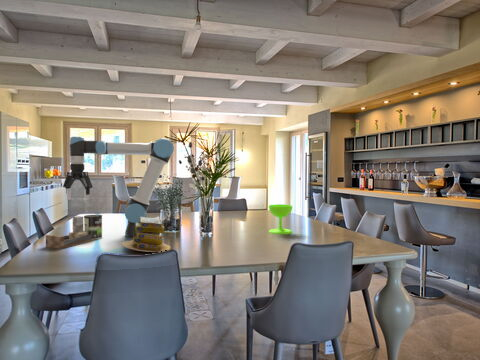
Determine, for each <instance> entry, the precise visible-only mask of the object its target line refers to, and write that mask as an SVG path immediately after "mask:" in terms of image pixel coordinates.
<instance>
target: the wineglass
mask: <svg viewBox="0 0 480 360" xmlns="http://www.w3.org/2000/svg"><path fill="white" fill-rule="evenodd" d="M268 209H269V212H270V213H271V214H272V215H273V216H274V217H276V218H278V228H272V229H270V230H268V233H269V234H273V235H290V234H293V230H291V229H287V228H283V218H285V217H287V216H288V215H290V213H291V212H292V211H293V205H292V204H280V203H279V204H276V203H275V204H269V205H268Z"/></svg>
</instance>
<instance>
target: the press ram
mask: <svg viewBox="0 0 480 360" xmlns="http://www.w3.org/2000/svg"><path fill="white" fill-rule="evenodd" d="M68 235H69V239H72V238H76V237H80V236H85V235H88V232H86V231H84V216H82V215H79V216H78V215H77V216H73V217H72V231H70V232H68Z"/></svg>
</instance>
